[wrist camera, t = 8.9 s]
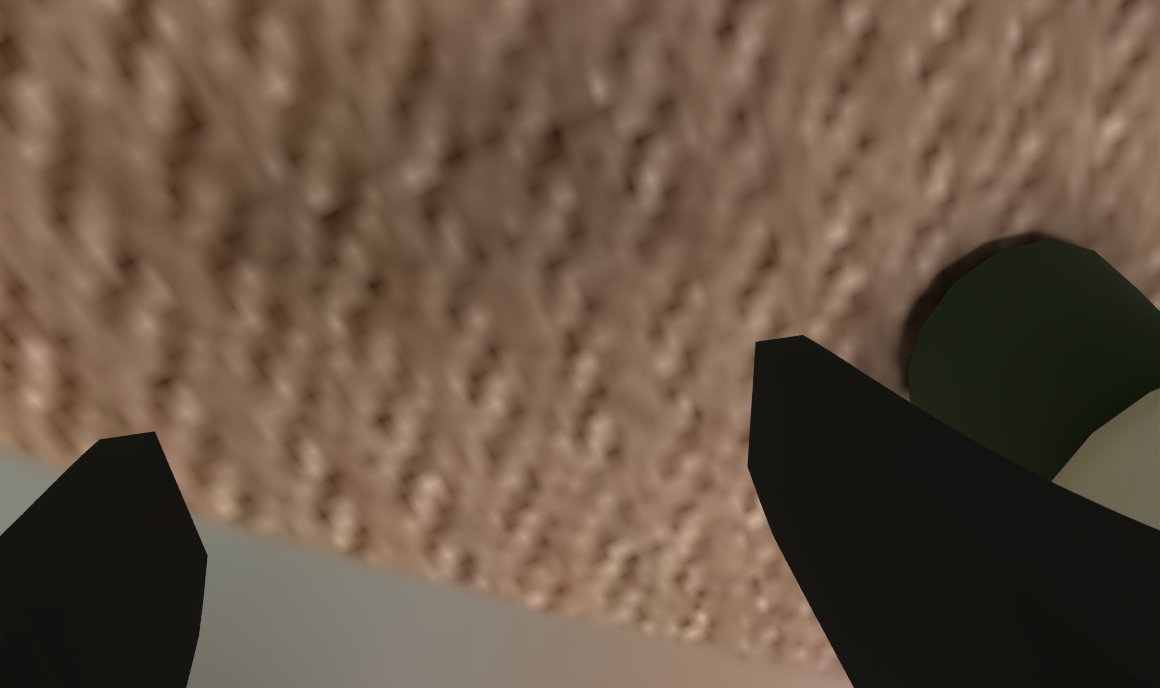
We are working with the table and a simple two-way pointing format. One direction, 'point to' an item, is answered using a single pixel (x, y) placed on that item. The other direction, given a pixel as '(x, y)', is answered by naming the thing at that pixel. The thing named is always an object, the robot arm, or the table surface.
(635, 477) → the table surface
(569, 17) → the table surface
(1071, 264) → the character mug
